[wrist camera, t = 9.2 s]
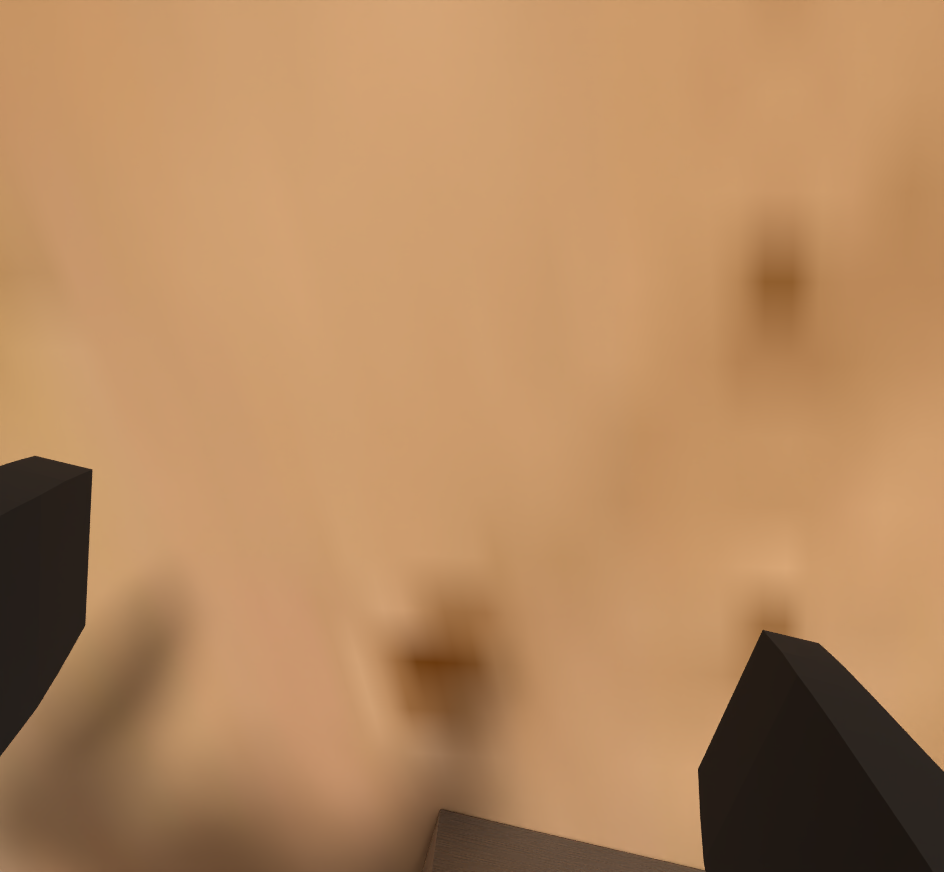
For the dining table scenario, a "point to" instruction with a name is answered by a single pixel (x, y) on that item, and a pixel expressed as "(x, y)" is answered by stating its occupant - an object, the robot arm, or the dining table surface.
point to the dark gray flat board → (523, 851)
